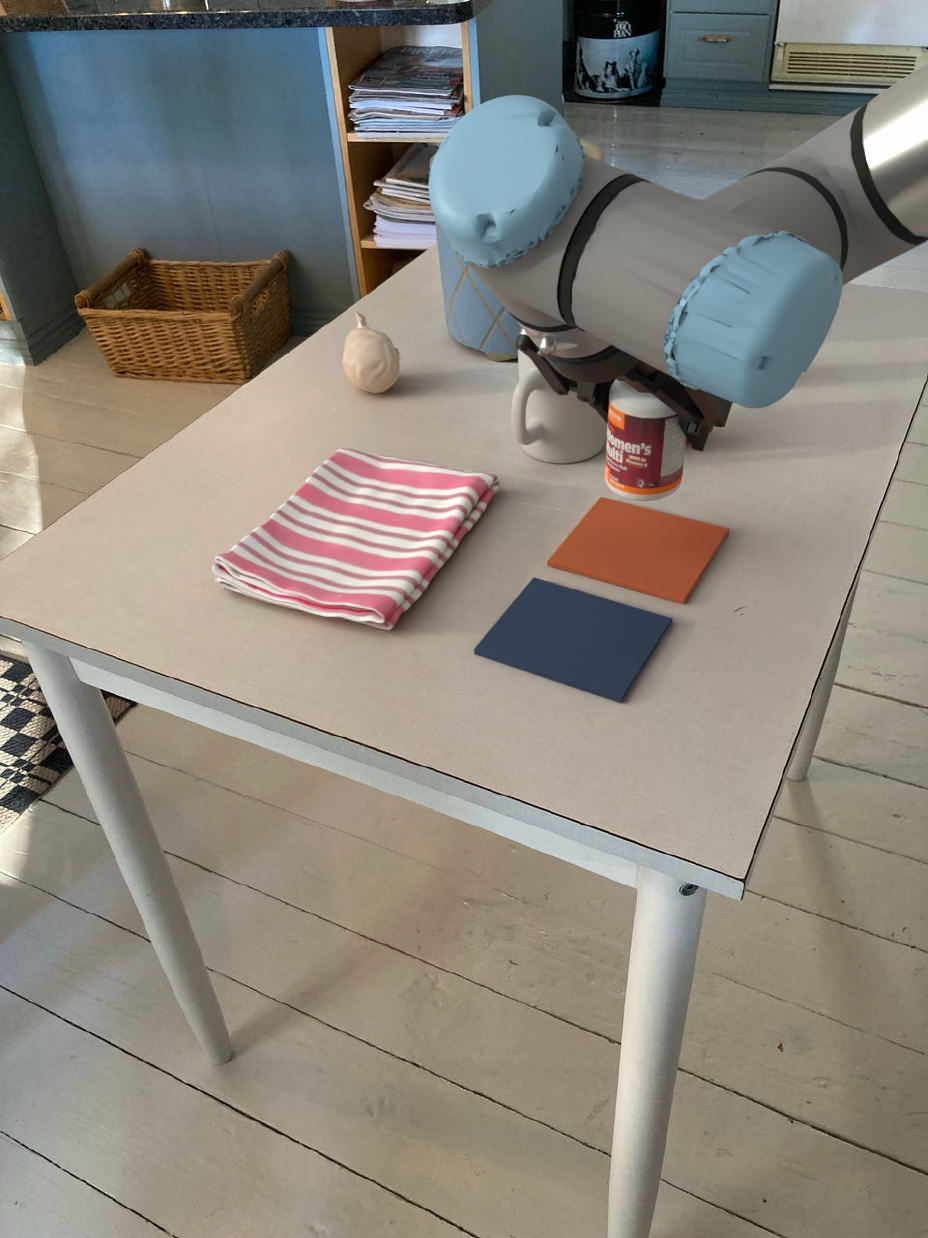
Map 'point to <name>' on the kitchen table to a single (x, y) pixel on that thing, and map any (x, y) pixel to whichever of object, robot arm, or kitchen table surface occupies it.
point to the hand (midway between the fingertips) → (662, 425)
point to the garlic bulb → (370, 358)
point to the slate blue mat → (575, 638)
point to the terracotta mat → (640, 549)
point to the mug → (553, 420)
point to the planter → (480, 297)
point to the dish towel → (358, 537)
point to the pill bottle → (642, 445)
